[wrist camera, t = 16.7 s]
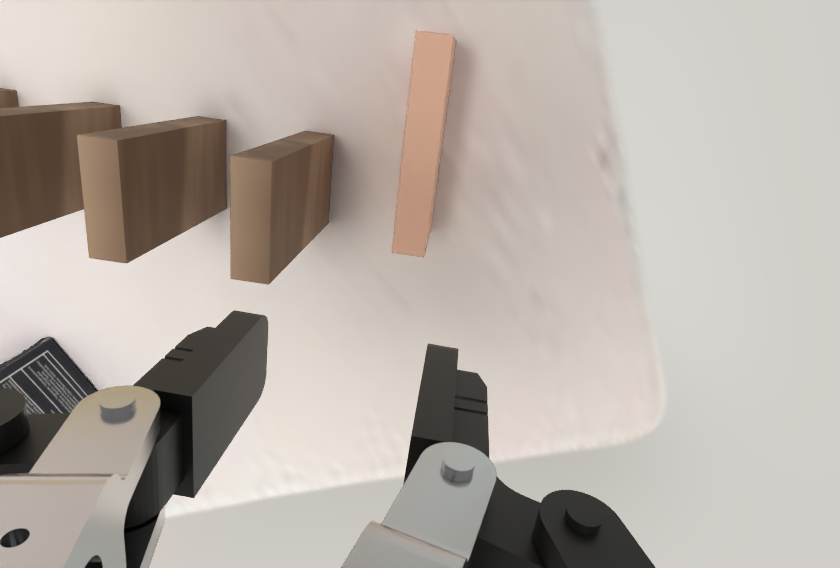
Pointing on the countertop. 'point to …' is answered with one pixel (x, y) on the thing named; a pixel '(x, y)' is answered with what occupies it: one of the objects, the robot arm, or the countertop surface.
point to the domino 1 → (8, 98)
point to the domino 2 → (45, 160)
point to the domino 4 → (278, 203)
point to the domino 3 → (150, 183)
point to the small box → (45, 379)
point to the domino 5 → (423, 141)
